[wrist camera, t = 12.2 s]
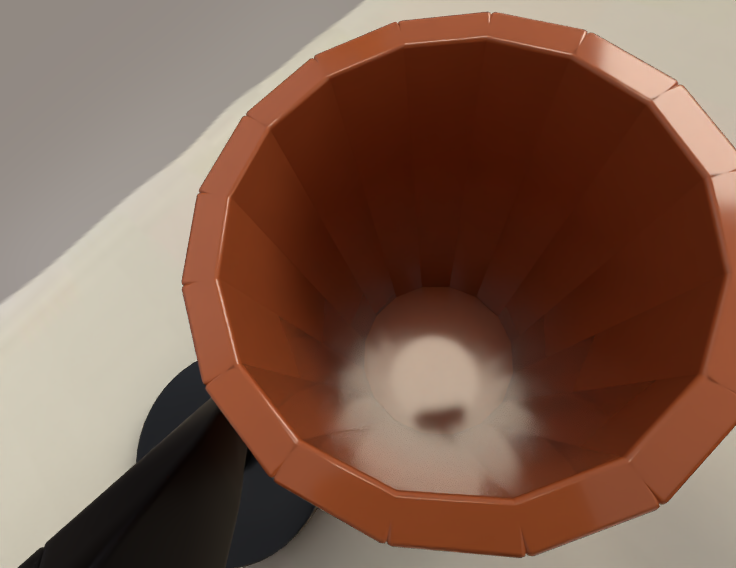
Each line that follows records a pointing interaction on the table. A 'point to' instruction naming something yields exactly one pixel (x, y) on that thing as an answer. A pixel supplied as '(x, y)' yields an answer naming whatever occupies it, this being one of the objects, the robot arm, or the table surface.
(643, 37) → the table surface
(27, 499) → the table surface
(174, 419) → the lid
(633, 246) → the pot
